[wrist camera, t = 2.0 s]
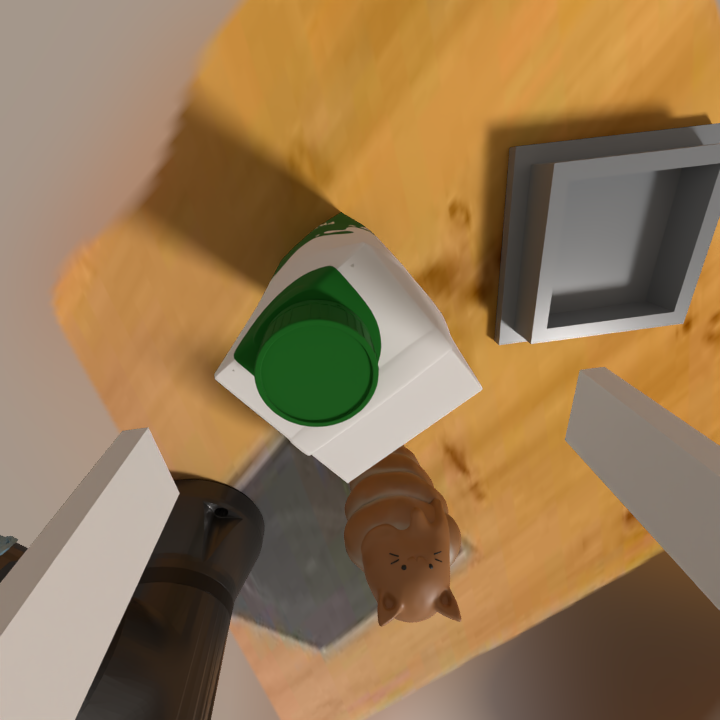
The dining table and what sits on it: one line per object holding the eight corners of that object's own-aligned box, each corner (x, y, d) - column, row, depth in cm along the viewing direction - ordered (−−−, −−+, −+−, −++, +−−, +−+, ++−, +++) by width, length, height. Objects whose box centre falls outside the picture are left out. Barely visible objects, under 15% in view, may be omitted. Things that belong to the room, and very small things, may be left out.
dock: (494, 340, 34) (514, 359, 31) (509, 147, 27) (538, 142, 23) (654, 319, 35) (692, 335, 31) (712, 124, 27) (771, 116, 24)
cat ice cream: (424, 409, 37) (501, 584, 21) (413, 466, 41) (472, 654, 25) (339, 409, 36) (352, 592, 20) (335, 467, 40) (344, 663, 24)
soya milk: (342, 193, 27) (378, 221, 9) (411, 282, 31) (531, 422, 13) (261, 269, 29) (165, 411, 11) (335, 344, 33) (350, 539, 15)
